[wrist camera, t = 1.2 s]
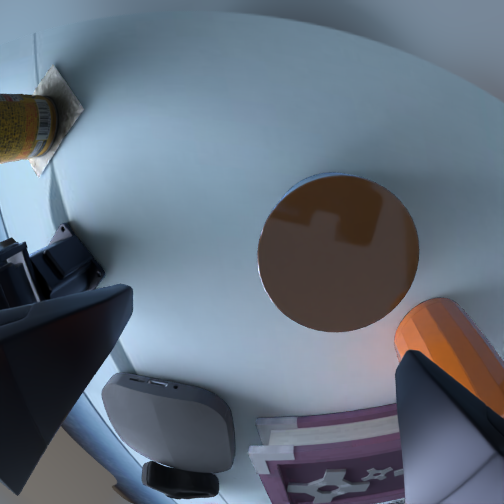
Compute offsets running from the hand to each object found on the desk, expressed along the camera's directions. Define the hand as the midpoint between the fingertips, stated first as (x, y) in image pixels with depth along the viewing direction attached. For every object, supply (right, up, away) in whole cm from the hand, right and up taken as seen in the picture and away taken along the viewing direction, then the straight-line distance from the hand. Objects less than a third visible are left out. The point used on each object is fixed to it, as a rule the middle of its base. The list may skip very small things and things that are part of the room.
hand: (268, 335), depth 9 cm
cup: (+15, -5, +13) cm, 20 cm away
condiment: (-20, +15, +13) cm, 28 cm away
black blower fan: (-5, -27, +22) cm, 36 cm away
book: (+14, -20, +19) cm, 31 cm away
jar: (+5, +4, +12) cm, 14 cm away
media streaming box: (-9, -17, +22) cm, 29 cm away
